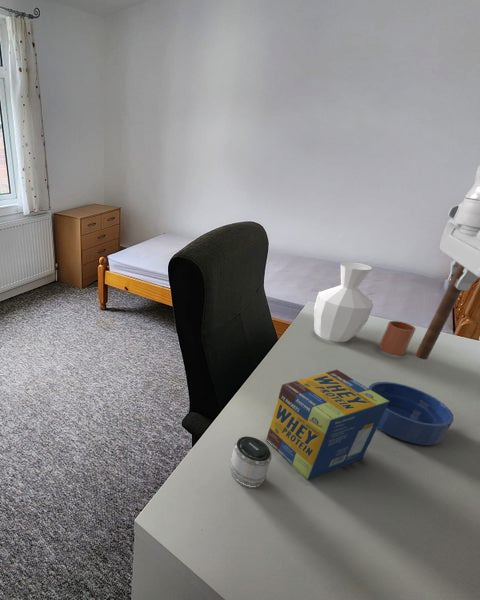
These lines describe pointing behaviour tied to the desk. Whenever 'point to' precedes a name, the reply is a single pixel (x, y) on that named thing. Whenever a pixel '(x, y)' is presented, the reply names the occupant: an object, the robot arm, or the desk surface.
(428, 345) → the stick
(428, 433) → the bowl
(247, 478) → the small jar
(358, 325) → the vase
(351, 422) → the protein box
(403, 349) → the holder
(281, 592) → the desk surface
